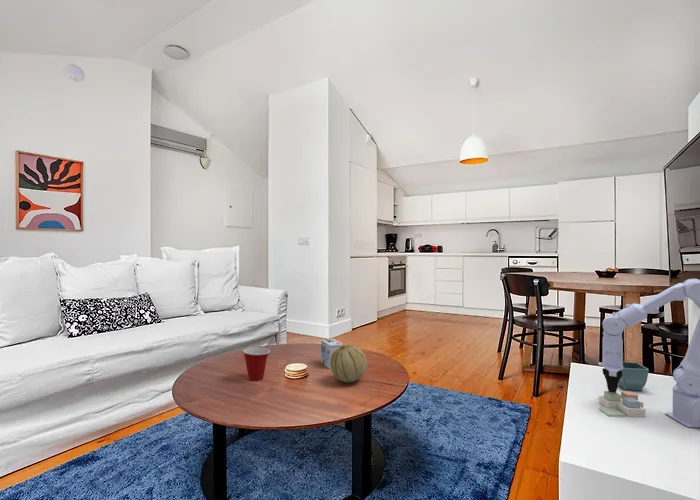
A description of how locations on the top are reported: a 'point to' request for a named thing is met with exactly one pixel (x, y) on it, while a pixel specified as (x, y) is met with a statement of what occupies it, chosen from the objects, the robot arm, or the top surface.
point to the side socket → (631, 411)
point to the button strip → (612, 402)
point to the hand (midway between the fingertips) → (612, 391)
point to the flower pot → (633, 376)
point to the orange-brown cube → (628, 395)
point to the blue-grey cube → (631, 403)
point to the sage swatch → (611, 412)
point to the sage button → (612, 396)
